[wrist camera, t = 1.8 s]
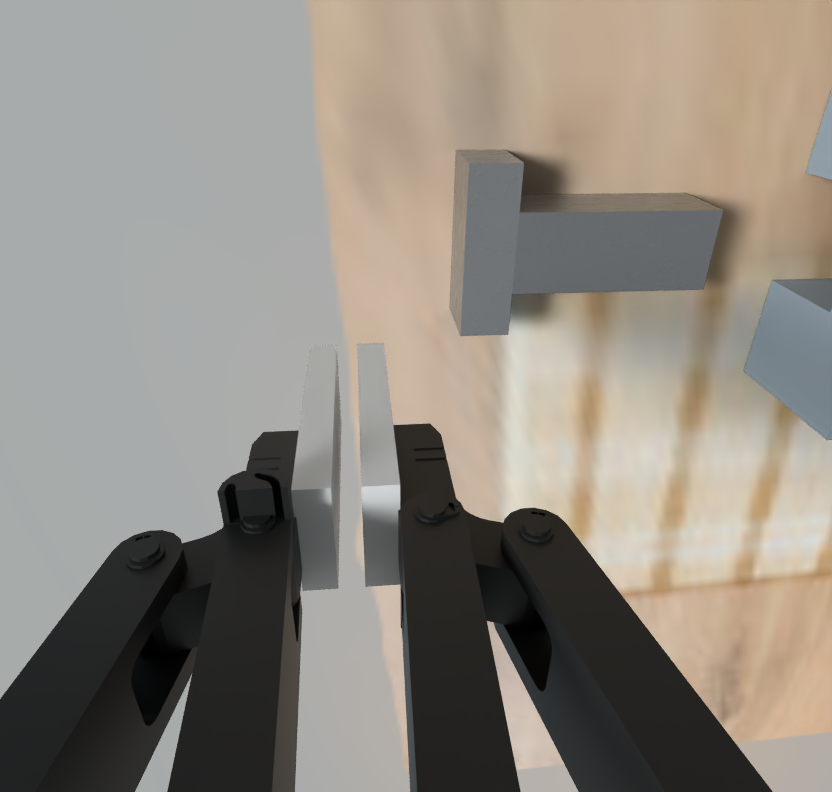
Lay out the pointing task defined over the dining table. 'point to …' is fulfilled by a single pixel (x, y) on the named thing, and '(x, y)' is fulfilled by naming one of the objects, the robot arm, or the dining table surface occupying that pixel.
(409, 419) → the dining table surface
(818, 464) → the dining table surface
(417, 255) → the dining table surface
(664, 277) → the gray block
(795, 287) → the hitch block
